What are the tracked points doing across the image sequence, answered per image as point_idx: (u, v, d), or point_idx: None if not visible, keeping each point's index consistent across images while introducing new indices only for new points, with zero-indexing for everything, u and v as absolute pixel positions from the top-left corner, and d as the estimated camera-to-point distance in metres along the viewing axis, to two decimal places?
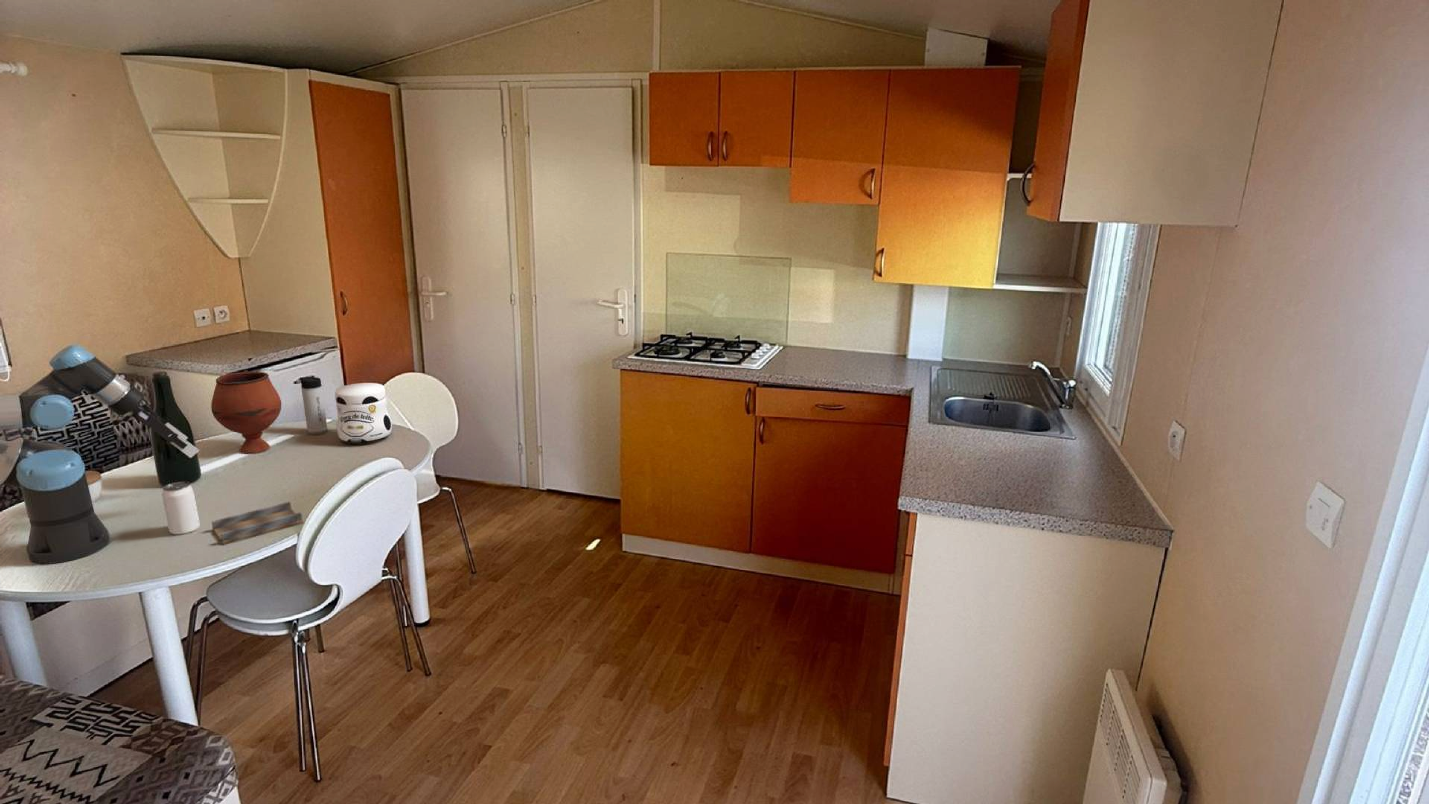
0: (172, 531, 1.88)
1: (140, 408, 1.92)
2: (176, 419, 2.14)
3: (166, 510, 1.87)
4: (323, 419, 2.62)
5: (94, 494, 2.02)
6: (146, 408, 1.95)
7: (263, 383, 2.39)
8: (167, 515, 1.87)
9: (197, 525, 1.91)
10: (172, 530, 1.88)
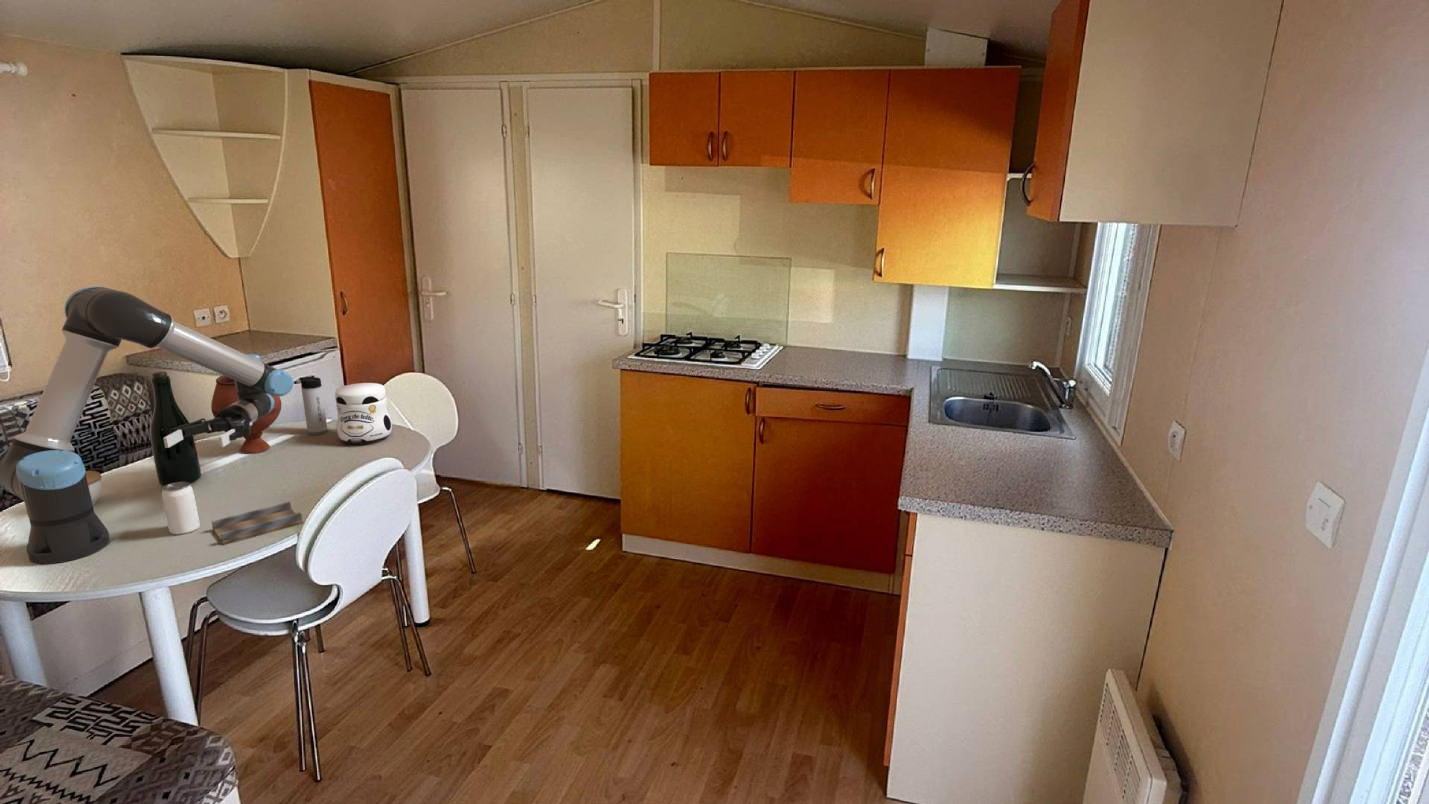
0: (172, 531, 1.88)
1: None
2: (176, 419, 2.14)
3: (166, 510, 1.87)
4: (323, 419, 2.62)
5: (94, 494, 2.02)
6: None
7: None
8: (167, 515, 1.87)
9: (197, 525, 1.91)
10: (172, 530, 1.88)
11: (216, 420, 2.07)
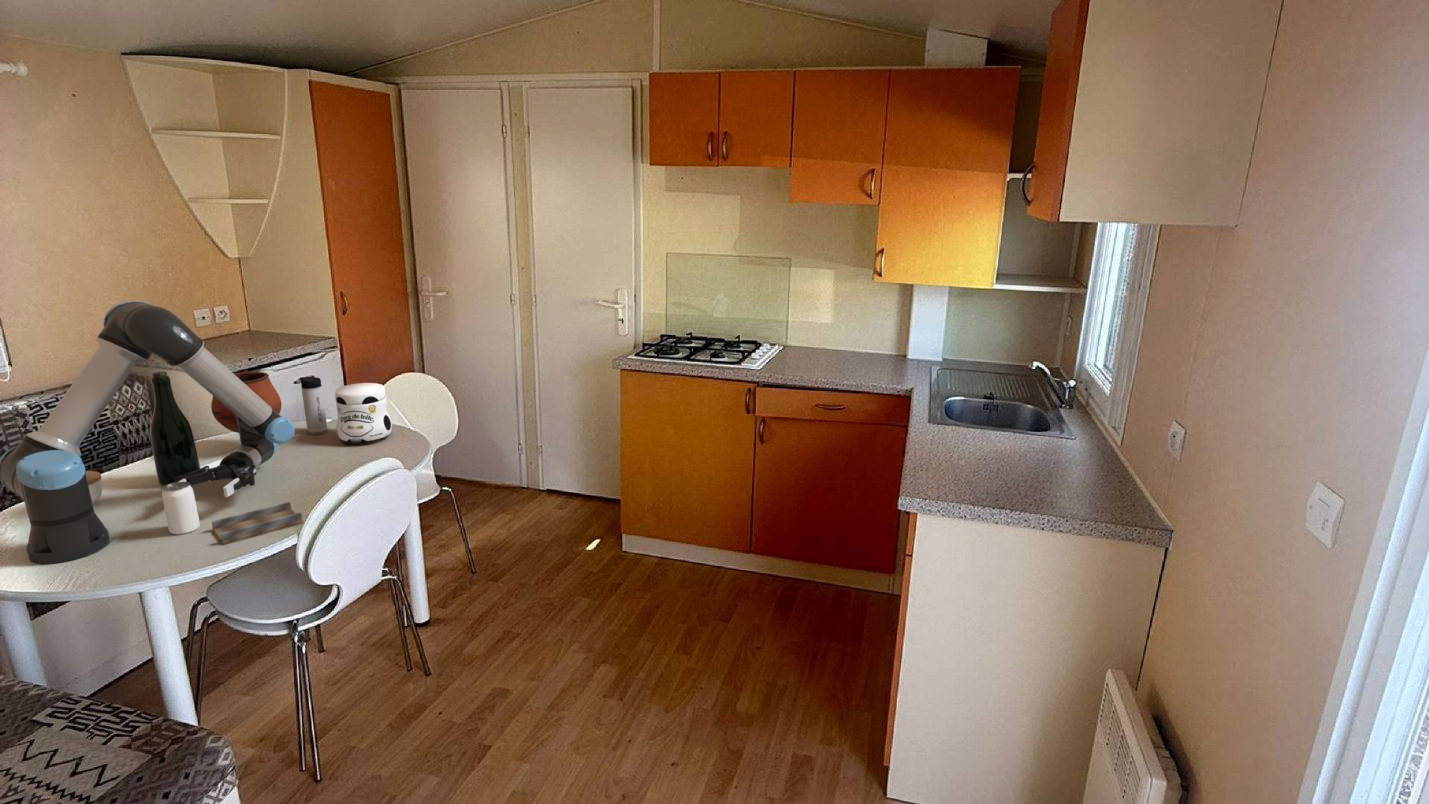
0: (172, 531, 1.88)
1: None
2: (176, 419, 2.14)
3: (166, 510, 1.87)
4: (323, 419, 2.62)
5: (94, 494, 2.02)
6: None
7: (263, 383, 2.39)
8: (167, 515, 1.87)
9: (197, 525, 1.91)
10: (172, 530, 1.88)
11: (220, 468, 2.09)
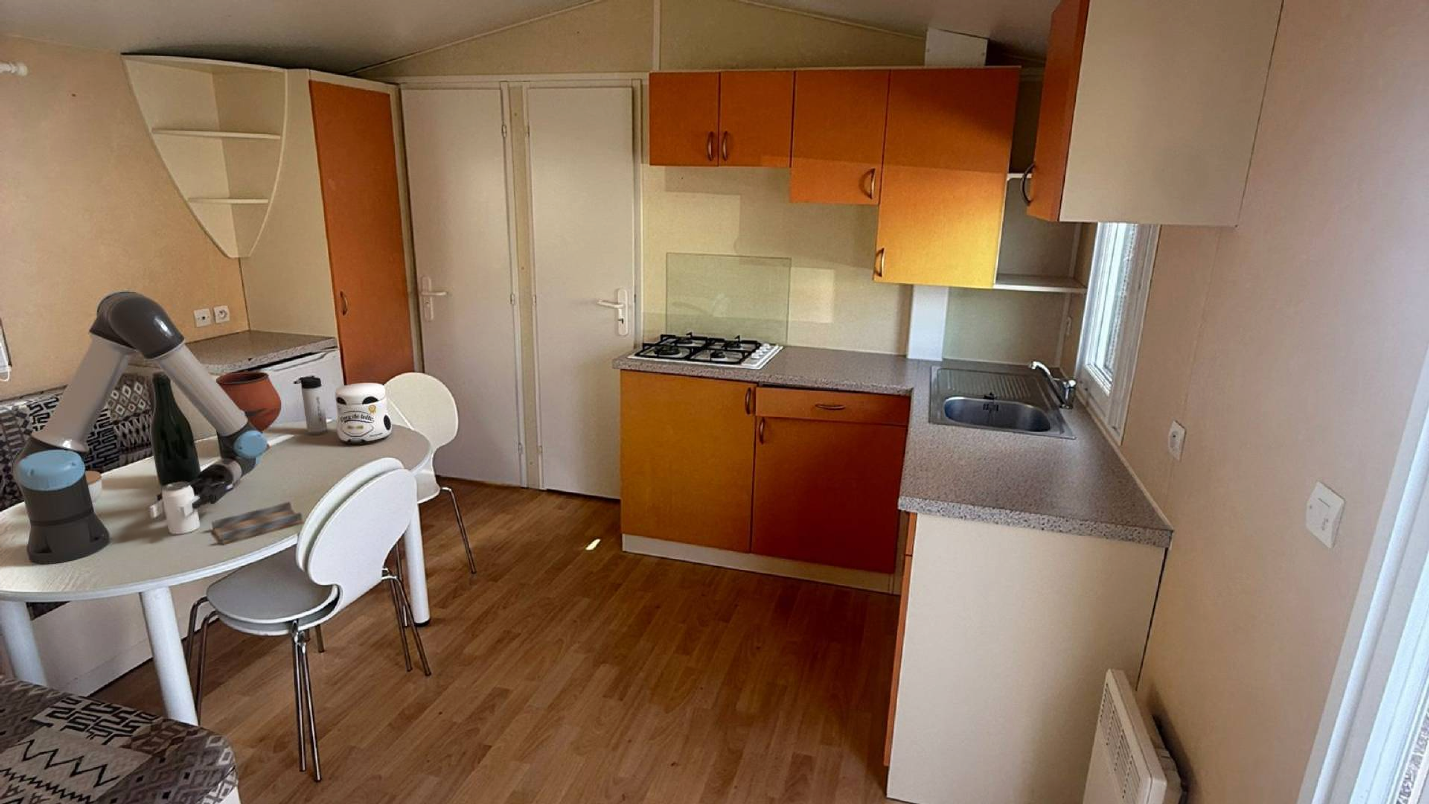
0: (172, 531, 1.88)
1: None
2: (176, 419, 2.14)
3: (166, 510, 1.87)
4: (323, 419, 2.62)
5: (94, 494, 2.02)
6: None
7: (263, 383, 2.39)
8: (167, 515, 1.87)
9: (197, 525, 1.91)
10: (172, 530, 1.88)
11: (198, 481, 1.99)
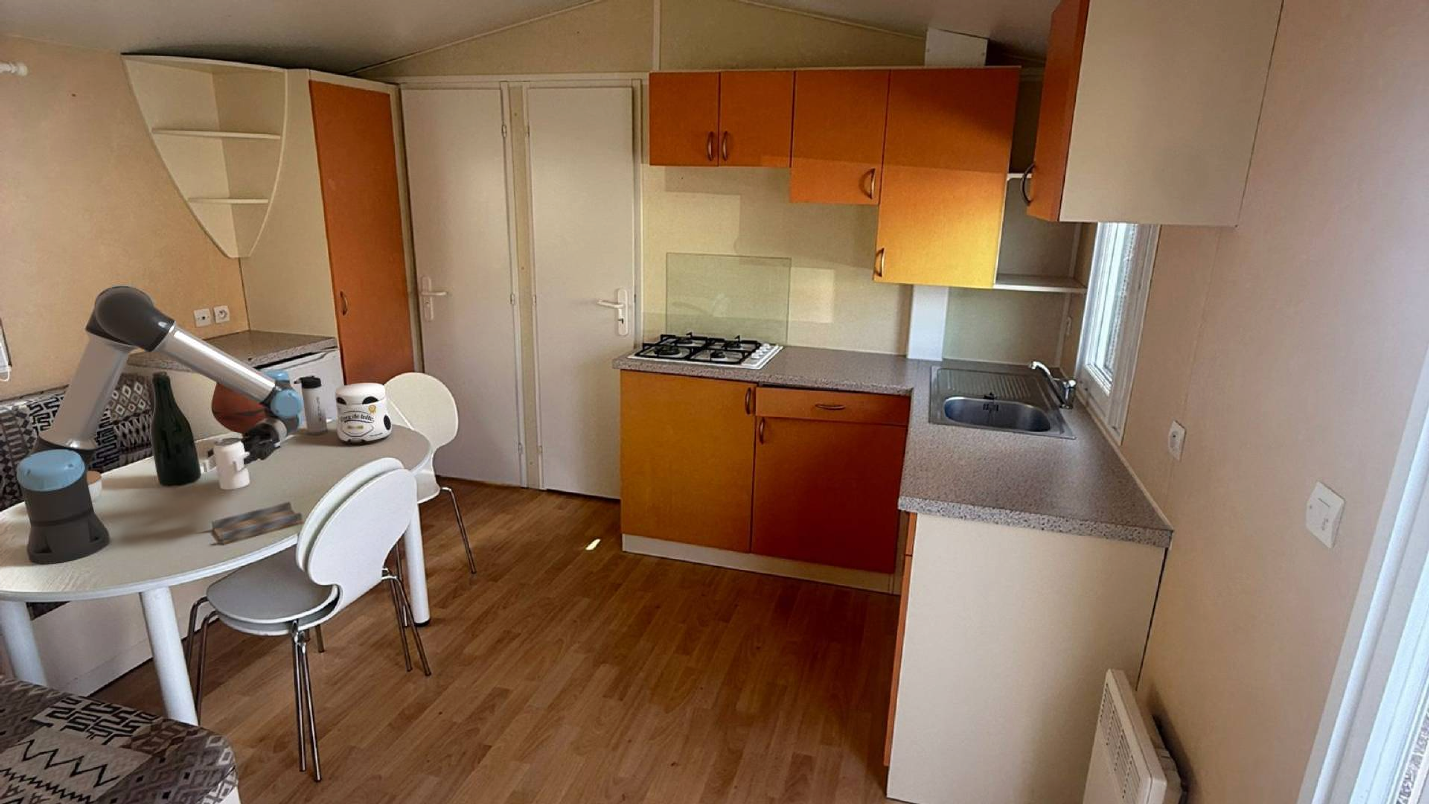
0: (223, 487, 1.87)
1: None
2: (176, 419, 2.14)
3: (217, 465, 1.86)
4: (323, 419, 2.62)
5: (94, 494, 2.02)
6: None
7: None
8: (218, 470, 1.86)
9: (247, 481, 1.91)
10: (223, 485, 1.87)
11: (247, 439, 1.98)
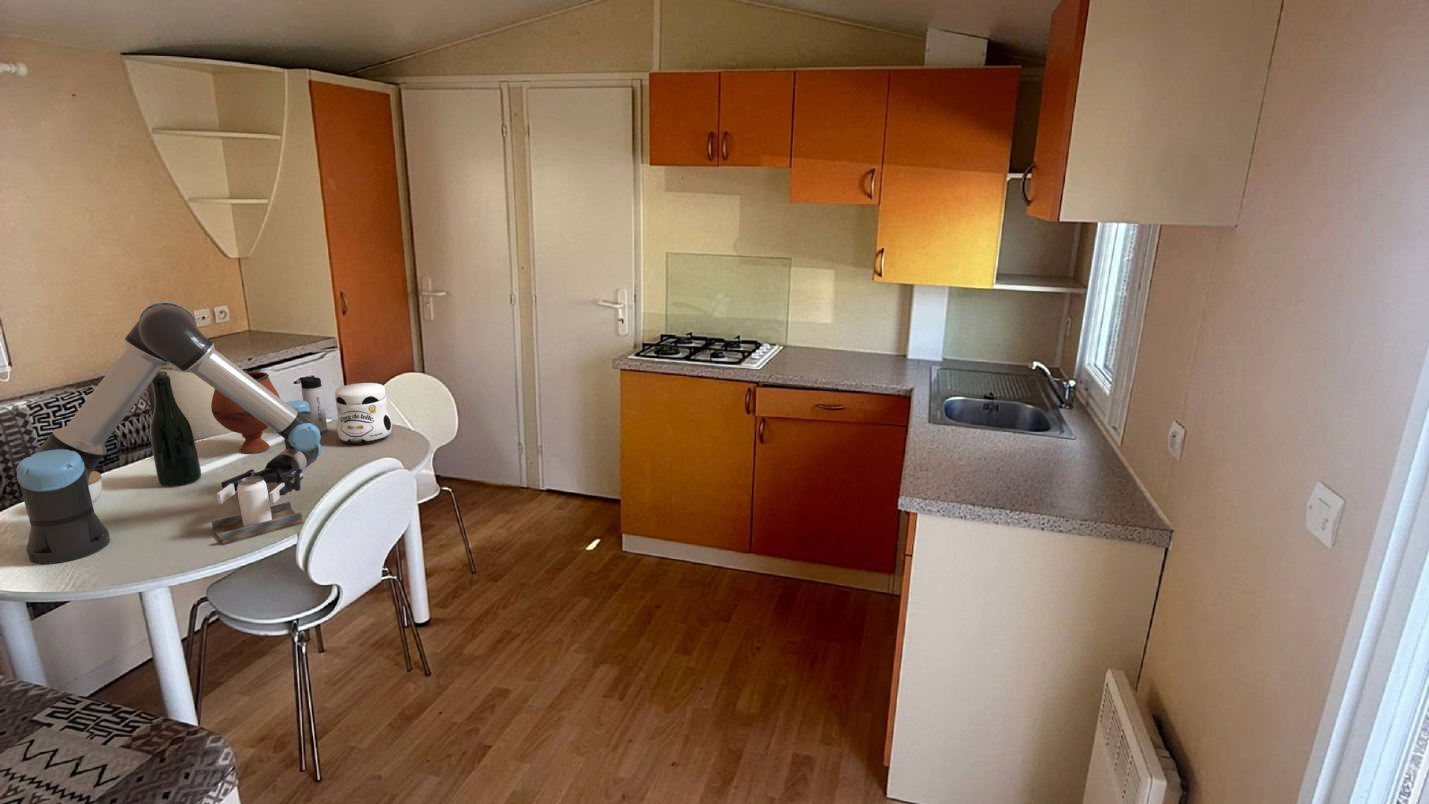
0: (246, 525, 1.90)
1: None
2: (176, 419, 2.14)
3: (241, 504, 1.89)
4: (323, 419, 2.62)
5: (94, 494, 2.02)
6: None
7: (263, 383, 2.39)
8: (242, 509, 1.89)
9: (270, 519, 1.93)
10: (246, 524, 1.90)
11: (267, 471, 2.00)
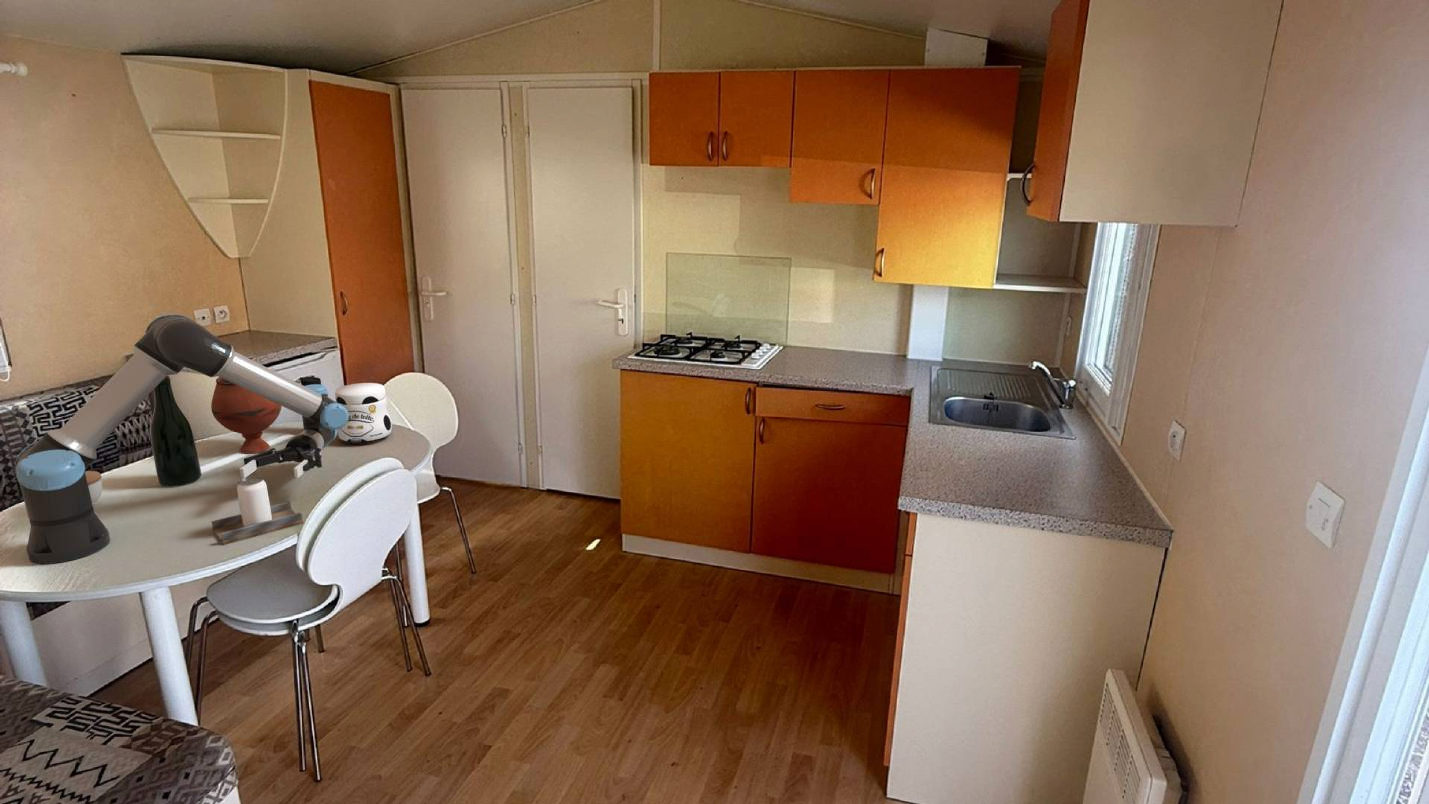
0: (246, 525, 1.90)
1: None
2: (176, 419, 2.14)
3: (241, 504, 1.89)
4: None
5: (94, 494, 2.02)
6: None
7: None
8: (242, 509, 1.89)
9: (270, 519, 1.93)
10: (246, 524, 1.90)
11: (287, 450, 2.12)
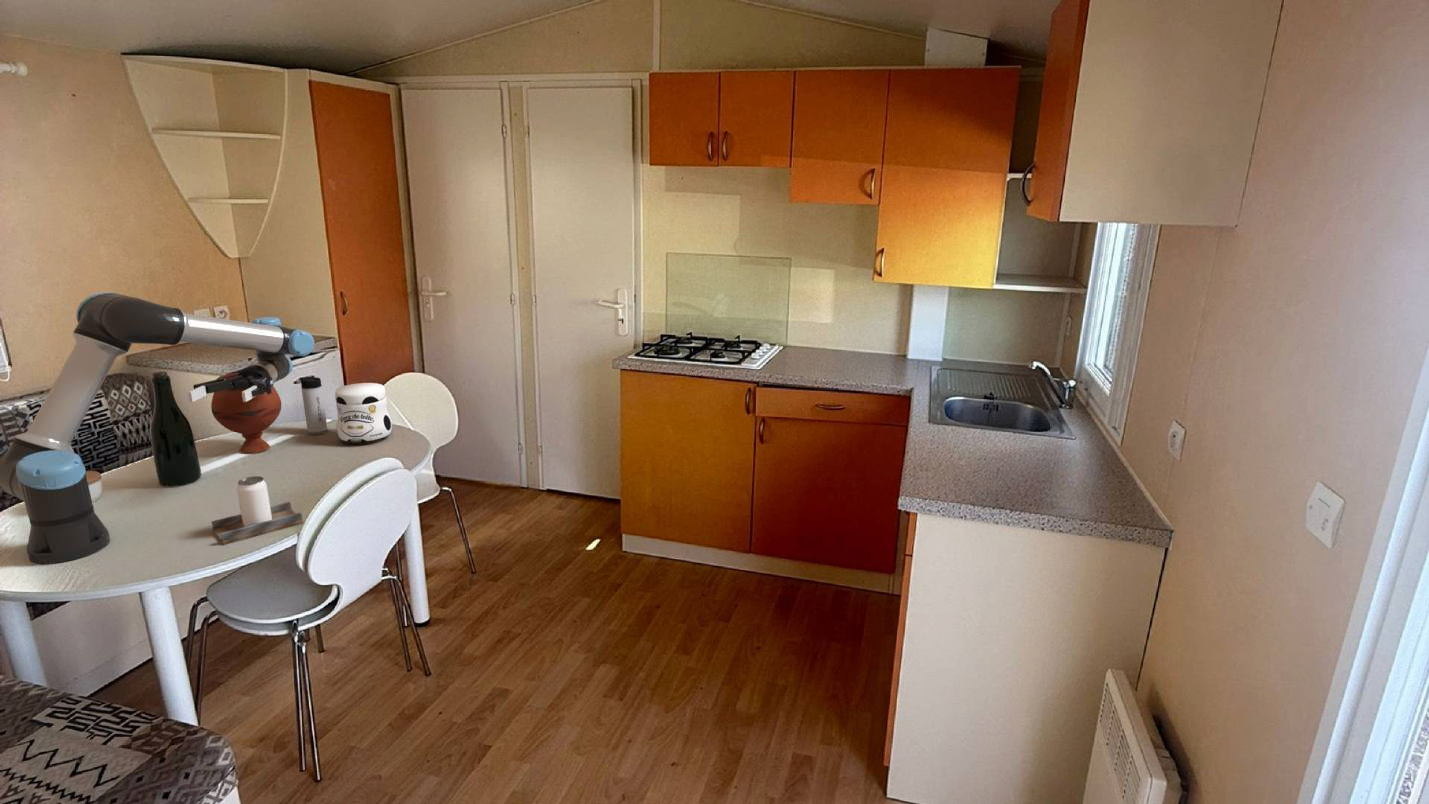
0: (246, 525, 1.90)
1: None
2: (176, 419, 2.14)
3: (241, 504, 1.89)
4: (323, 419, 2.62)
5: (94, 494, 2.02)
6: None
7: None
8: (242, 509, 1.89)
9: (270, 519, 1.93)
10: (246, 524, 1.90)
11: (238, 378, 2.13)
